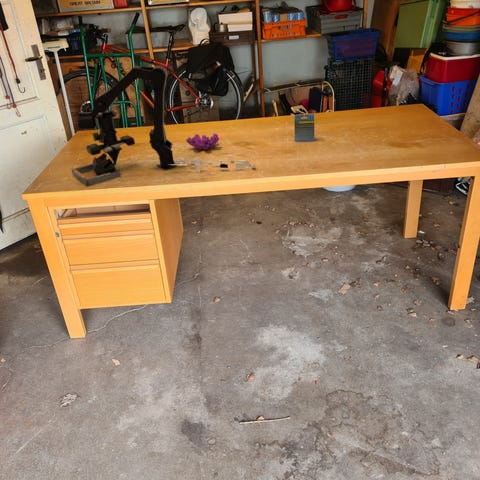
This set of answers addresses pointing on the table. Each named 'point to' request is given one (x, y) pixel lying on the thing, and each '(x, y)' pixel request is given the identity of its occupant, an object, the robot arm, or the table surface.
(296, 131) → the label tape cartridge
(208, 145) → the purple flower bowl
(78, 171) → the frame
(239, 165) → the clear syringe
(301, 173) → the table surface
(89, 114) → the robot arm
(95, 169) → the end cap
